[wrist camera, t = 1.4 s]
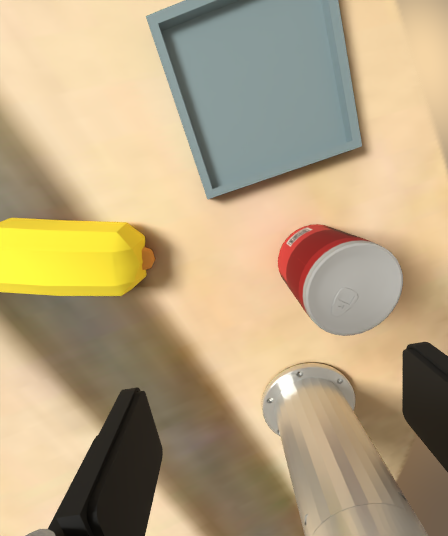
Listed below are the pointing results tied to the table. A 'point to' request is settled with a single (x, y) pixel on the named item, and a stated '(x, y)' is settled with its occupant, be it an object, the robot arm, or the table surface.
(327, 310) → the canned food
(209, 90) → the tray
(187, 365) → the table surface
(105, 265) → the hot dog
